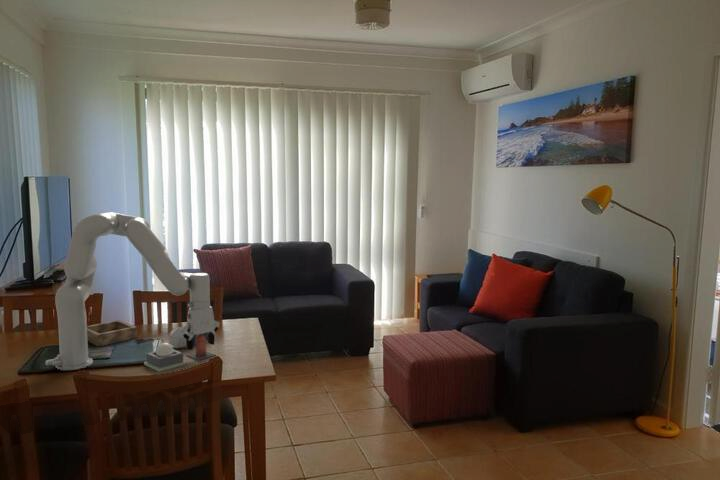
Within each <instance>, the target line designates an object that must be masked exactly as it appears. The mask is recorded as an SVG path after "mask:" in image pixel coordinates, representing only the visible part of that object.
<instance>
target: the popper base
mask: <svg viewBox="0 0 720 480" xmlns="http://www.w3.org/2000/svg"><path fill="white" fill-rule="evenodd" d="M172 349H173V348H172ZM156 351H157V350H155V351H151V352H147V353H146V361H144V362H143V365H144V366H145V367H146V366H147V367H148V368H150V369H152V370H154V371H156V372H160V373H161V372H163V371H167V370H170V369H174V368H177V367H181V366H184V365H187V361H185V360H184V353H183V352H182V351H179V350H176V349H173V355H169V356H165V357H159V356H157V355H156Z"/></svg>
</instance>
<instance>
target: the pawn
mask: <svg viewBox="0 0 720 480" xmlns="http://www.w3.org/2000/svg"><path fill="white" fill-rule="evenodd" d="M206 351H207V339H206V338H205V336H204V335H203V334H199V335H198V336H197V337H196V346H195V353H196V356H199V357H201V356H205V355H206Z"/></svg>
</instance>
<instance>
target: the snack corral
mask: <svg viewBox="0 0 720 480" xmlns="http://www.w3.org/2000/svg"><path fill="white" fill-rule="evenodd" d="M137 338H138V327H137V326H135V325H132V324H130V323H129V322H125V321H122V320H120V319H117V320H114V321H107V322H102V323H101V322H100V323H96V324H92V325H87V339H88V342H89V343H90V344H92V345H95V346H97V347H102V346H106V345H110V344H115V343H119V342H125V341H129V340H133V339H137Z"/></svg>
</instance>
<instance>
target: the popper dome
mask: <svg viewBox="0 0 720 480" xmlns="http://www.w3.org/2000/svg"><path fill="white" fill-rule="evenodd" d="M155 351H156V355H157V356H159V357H165V356H169V355H173V346H172V345H171V344H169V342H162V343H160V344H159V345H158V346H157V348H156V350H155Z"/></svg>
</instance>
